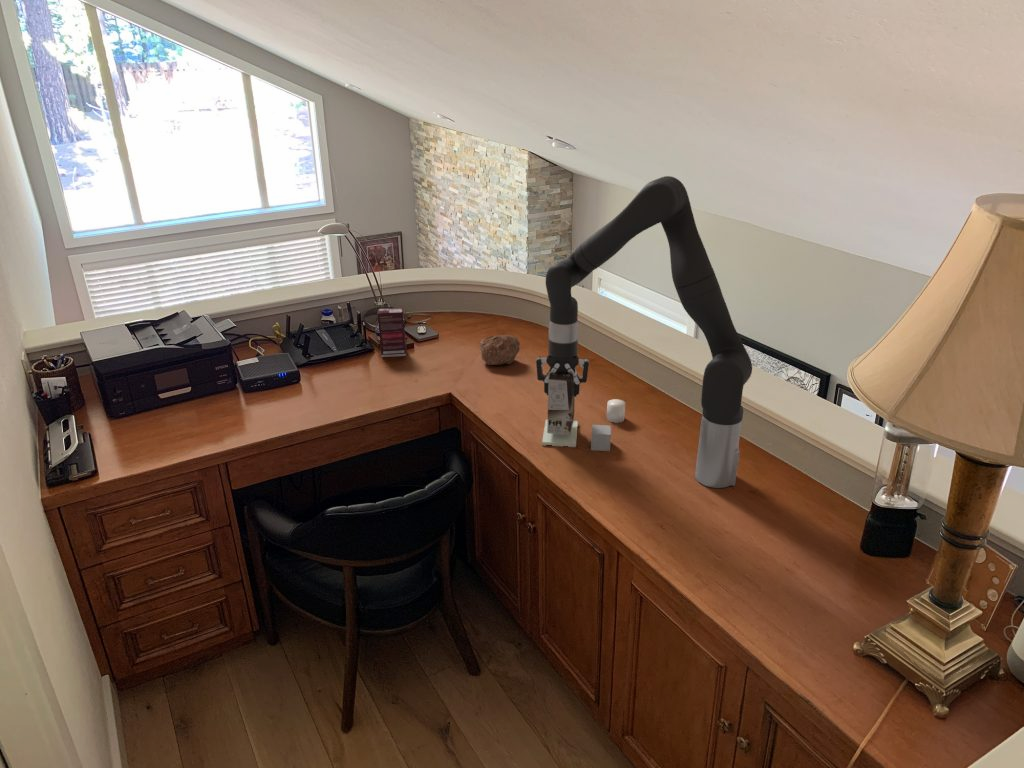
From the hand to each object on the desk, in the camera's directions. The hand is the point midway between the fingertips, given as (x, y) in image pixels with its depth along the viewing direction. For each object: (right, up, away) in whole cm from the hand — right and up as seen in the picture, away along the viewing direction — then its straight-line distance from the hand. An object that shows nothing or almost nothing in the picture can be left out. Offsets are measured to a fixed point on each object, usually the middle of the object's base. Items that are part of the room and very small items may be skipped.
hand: (561, 394), depth 201 cm
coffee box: (0, -9, +4) cm, 10 cm away
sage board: (0, -11, +5) cm, 12 cm away
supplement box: (-54, +13, +57) cm, 79 cm away
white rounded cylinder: (+16, -7, +14) cm, 22 cm away
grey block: (+10, -14, 0) cm, 17 cm away
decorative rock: (-17, +10, +50) cm, 54 cm away
